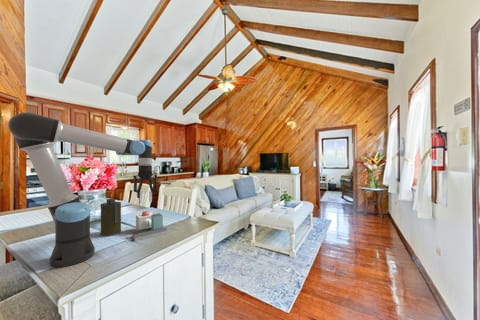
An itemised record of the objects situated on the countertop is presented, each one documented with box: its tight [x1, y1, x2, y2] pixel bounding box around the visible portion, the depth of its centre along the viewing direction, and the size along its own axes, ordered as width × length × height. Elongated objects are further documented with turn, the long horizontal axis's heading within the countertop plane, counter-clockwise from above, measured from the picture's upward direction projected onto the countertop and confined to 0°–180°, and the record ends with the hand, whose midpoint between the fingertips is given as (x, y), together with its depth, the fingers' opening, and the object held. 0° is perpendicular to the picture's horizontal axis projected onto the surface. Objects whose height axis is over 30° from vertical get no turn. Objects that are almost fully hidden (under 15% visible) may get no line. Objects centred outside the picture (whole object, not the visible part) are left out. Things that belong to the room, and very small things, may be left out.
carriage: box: [151, 212, 164, 230], centre depth 116 cm, size 5×5×10 cm
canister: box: [99, 198, 122, 237], centre depth 116 cm, size 11×10×20 cm
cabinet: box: [135, 212, 154, 230], centre depth 122 cm, size 9×9×9 cm
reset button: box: [141, 210, 150, 216], centre depth 122 cm, size 4×4×4 cm
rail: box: [131, 227, 168, 242], centre depth 113 cm, size 17×7×3 cm, turn 130°
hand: (145, 202), depth 122 cm, fingers open, 5 cm apart
